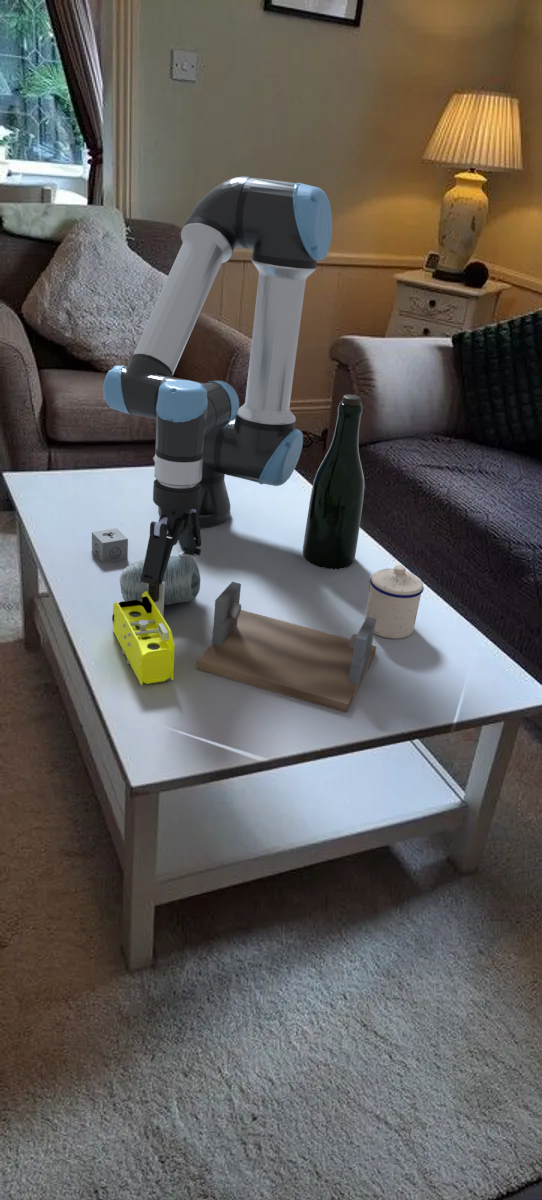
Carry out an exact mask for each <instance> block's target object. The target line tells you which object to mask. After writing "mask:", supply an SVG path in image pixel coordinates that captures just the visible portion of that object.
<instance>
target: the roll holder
mask: <svg viewBox="0 0 542 1200" xmlns="http://www.w3.org/2000/svg"><path fill="white" fill-rule="evenodd" d="M241 589H242V583H240V582H235V581H231V582H230V584H229V585H228V586H227V587H226V588H225V589H224V590H223V591H222V592H221V594H219V595H218V597H217V598H215V602H214V614H213V626H212V635H211V637H212V638H211V639H212V640H211V644H210V645H209V646H208V648H207V649H206V651H204V653H203V654H202V655H201V656H200V657H199V659H197V664H196V665H197V667H196V669H197V670H199V671H203V672H206V673H209V674H212V675H213V674H214V675H217V676H220V677H223V678H227V679H231V680H234V681H238V682H241V683H244V684H247V685H251V686H254V687H258V688H261V689H265V690H268V691H272V692H276V693H279V694H282V695H285V696H289V697H293V698H295V699H296V698H297V699H299V700H302V701H305V702H309V703H313V704H316V705H320V706H323V707H327V708H330V709H334V710H336V711H341V712H344V713H347V712H348V710H349V708H350V706H351V704H352V702H353V700H354V699H355V696H356V694H357V692H358V690H359V688H360V686H361V684H362V682H363V679H364V678H365V675H366V673H367V671H368V670H369V668H370V665H371V663H372V661H373V660H374V657H375V655H376V652H377V645H374V644H373V641H374V635H375V634H374V631H375V625H376V620H377V619H374V618H370V617H367V618H366V620H365V619H364V622H363V624H362V626H361V627H360V629H359V631H358V633H357V634H352V635H351V636H350V638H347V637H344V636H341V635H336V634H333V633H329V632H325V631H321V630H319V629H314V628H310V627H307V626H303V625H300V624H295V623H291V622H288V621H285V620H280V619H277V618H274V617H269V616H265V615H261V614H258V613H254V612H251V611H247V610H243V609H242V604H240V598H241V597H240V596H241Z"/></svg>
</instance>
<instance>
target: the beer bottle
mask: <svg viewBox="0 0 542 1200" xmlns="http://www.w3.org/2000/svg"><path fill="white" fill-rule="evenodd" d="M361 402H362V398H361V396H359V395H355V394H344V395H343V396H342V400H341V401H340V402H339V405H338V406H337V418H336V424H335V429H334V433H333V437H332V440H331V441H332V442H331V444H330V446H329V448H328V451H327V453H326V454H325V455H324V458H323V460H322V461H321V463H320V466H319V467H318V469H317V470H316V473H315V477H314V479H313V483H312V487H311V492H310V493H311V494H310V499H309V504H308V510H307V516H306V517H307V518H306V523H305V524H306V525H305V532H304V538H303V544H302V545H303V546H302V557H303V558H304V560H306V562H308V564H311V565H313V566H315V567H317V568H318V567H319V568H321V569H328V570H342V569H347V568H349V567H351V566H352V565H353V564H354V562H355V558H356V555H357V554H356V552H357V547H358V540H359V533H360V528H361V519H362V512H363V507H364V506H363V504H364V496H365V495H364V494H365V476H364V472H363V471H364V470H363V468H362V461H361V459H360V457H361V456H360V452H359V451H360V450H359V434H360V432H359V431H360V424H361V416H362V413H363V404H362V403H361Z"/></svg>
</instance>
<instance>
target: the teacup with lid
mask: <svg viewBox="0 0 542 1200" xmlns="http://www.w3.org/2000/svg"><path fill="white" fill-rule="evenodd" d="M367 585H368V586H367V587H368V588H367V589H368V598H367V599H368V600H367V604H366V611H365V616H364V621H365V620H366V618H367V617H370V618H374V619H377V620H376V625H375V631H374V635H376V636H379V637H381V638H385V639H392V640H393V639H404V638H407V637H409V636H411V634H413V632H414V630H415V625H416V621H417V620H416V619H417V615H418V611H419V606H420V601H421V596H422V593H424V592H423V591H424V590H425V589H424V588H425V587H424V583H423V581H422V580H421V578H420V577H418V576H417V575H416V574H414V573H412V572H410V571H407V569H406V567H405V566H404V565H401V564H400V565H399V564H398V565H395V566H394V567H393V568H383V569H379V570H377V571H375V572H374V573H373V574H371V576H370V577H369V579H368V584H367Z"/></svg>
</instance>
